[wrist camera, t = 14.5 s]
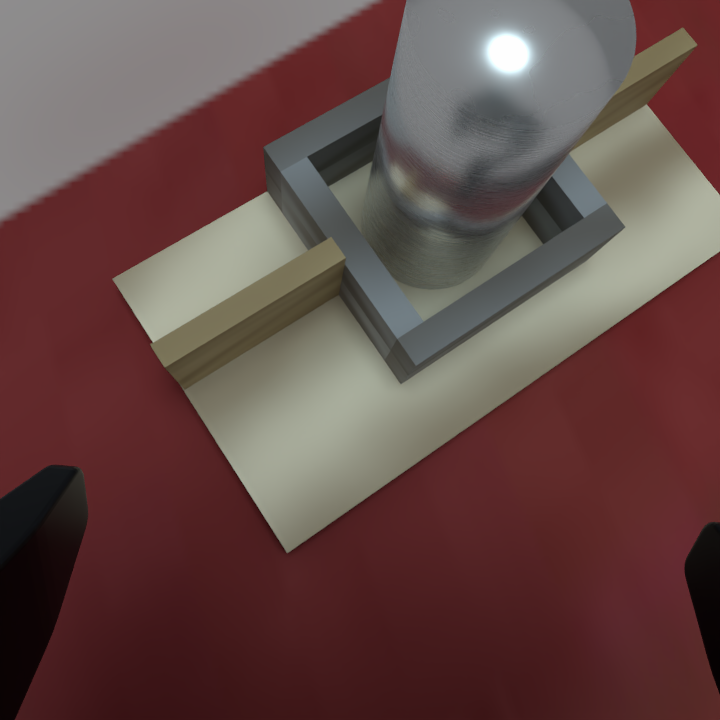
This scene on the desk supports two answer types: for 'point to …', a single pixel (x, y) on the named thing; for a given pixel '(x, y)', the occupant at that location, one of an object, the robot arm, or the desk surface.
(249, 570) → the desk surface
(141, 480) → the desk surface
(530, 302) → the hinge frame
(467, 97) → the silver metal cylinder
